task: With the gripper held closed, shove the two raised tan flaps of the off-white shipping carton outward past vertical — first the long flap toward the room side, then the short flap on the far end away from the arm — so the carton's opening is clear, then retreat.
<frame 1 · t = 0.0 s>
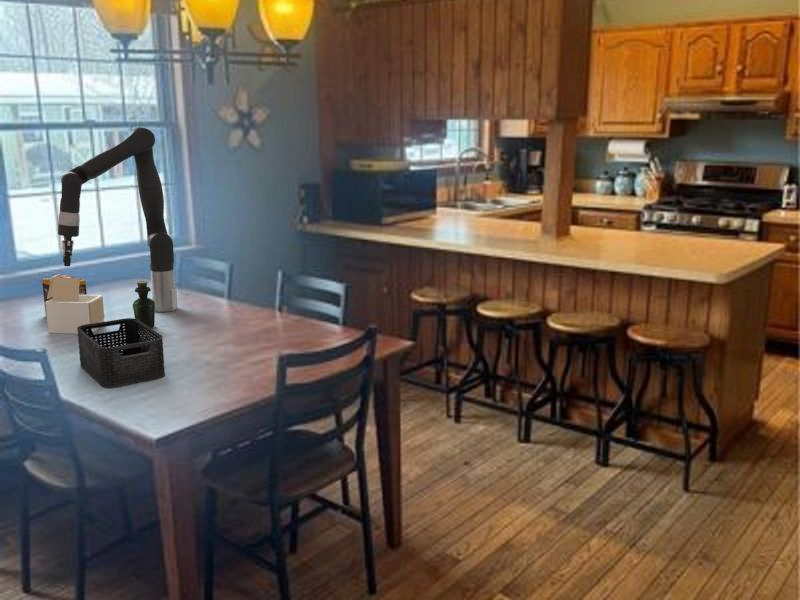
hand: (66, 264, 281), 22 cm above the table, tool pointing down, fingers open, 8 cm apart
carton: (77, 328, 273), on the table
storage bin: (122, 371, 229), on the table
short flap: (53, 286, 269), point 17 cm above the table, hinge at 72.0°
supplement box: (67, 317, 290), on the table
long flap: (66, 289, 264), point 17 cm above the table, hinge at 72.0°
potion bottle: (145, 327, 277), on the table
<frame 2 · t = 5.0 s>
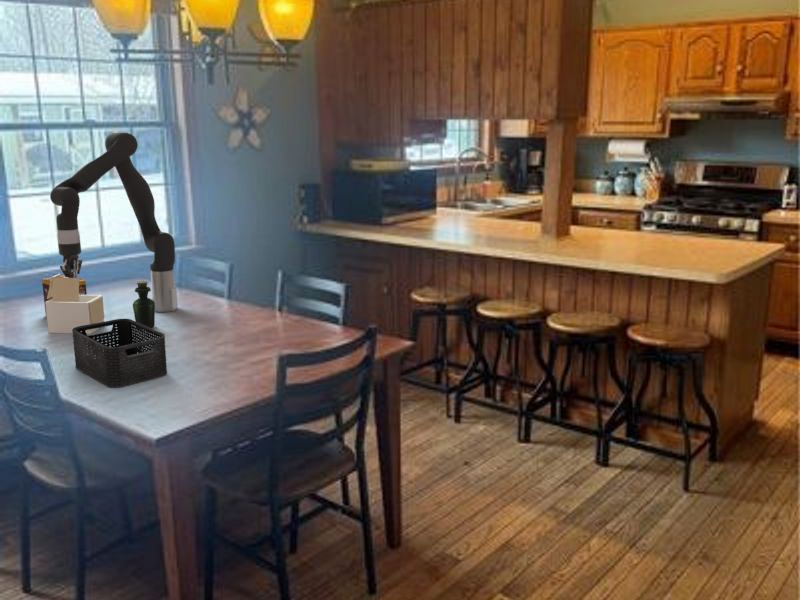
hand: (73, 287, 268), 17 cm above the table, tool pointing down, fingers closed
long flap: (65, 289, 264), point 17 cm above the table, hinge at 73.6°, touching gripper
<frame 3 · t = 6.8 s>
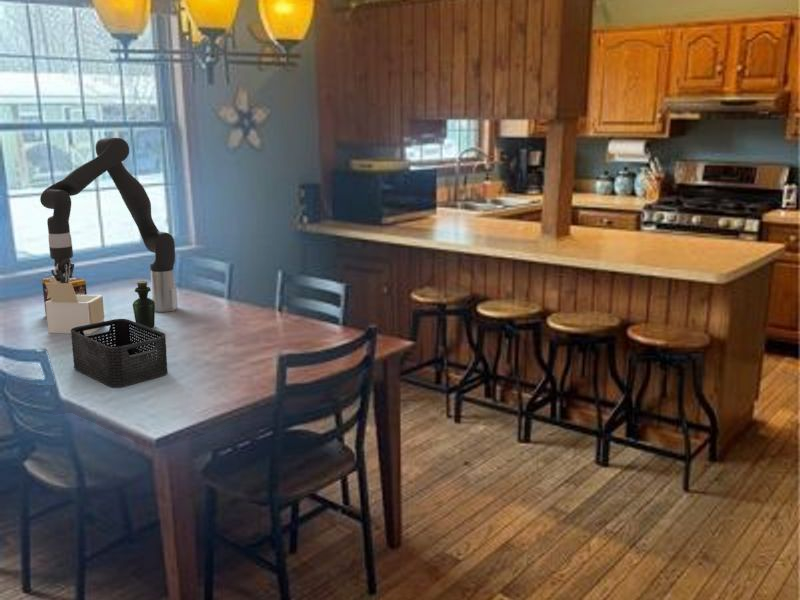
hand: (65, 291, 262), 17 cm above the table, tool pointing down, fingers closed
long flap: (61, 292, 261), point 16 cm above the table, hinge at 114.6°, touching gripper
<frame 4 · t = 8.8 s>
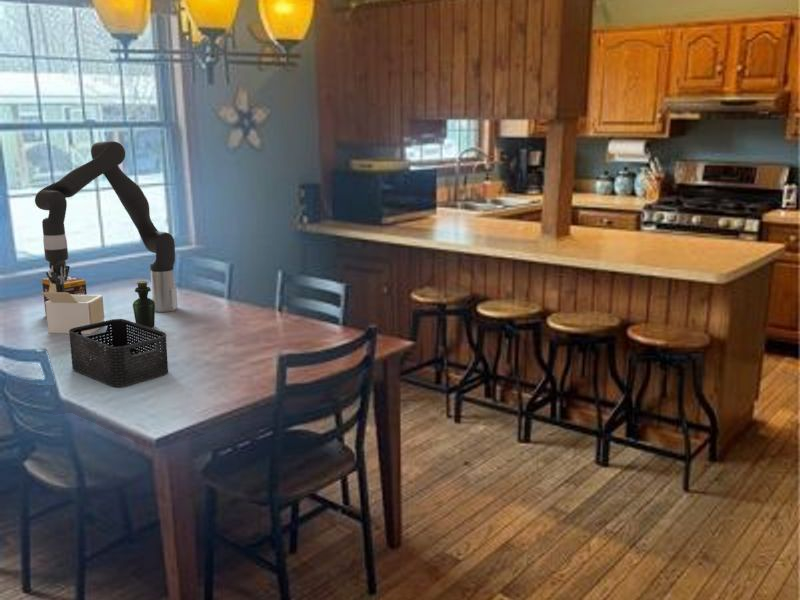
hand: (60, 294, 258), 16 cm above the table, tool pointing down, fingers closed
long flap: (60, 297, 260), point 15 cm above the table, hinge at 142.2°, touching gripper
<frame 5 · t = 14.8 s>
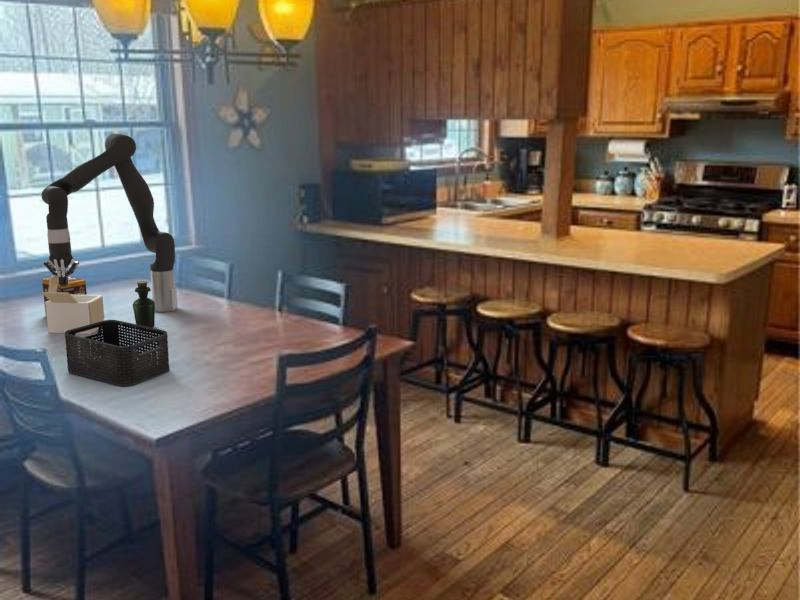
hand: (64, 286, 269), 17 cm above the table, tool pointing down, fingers closed
short flap: (53, 286, 269), point 17 cm above the table, hinge at 74.6°, touching gripper
long flap: (60, 297, 260), point 15 cm above the table, hinge at 142.3°
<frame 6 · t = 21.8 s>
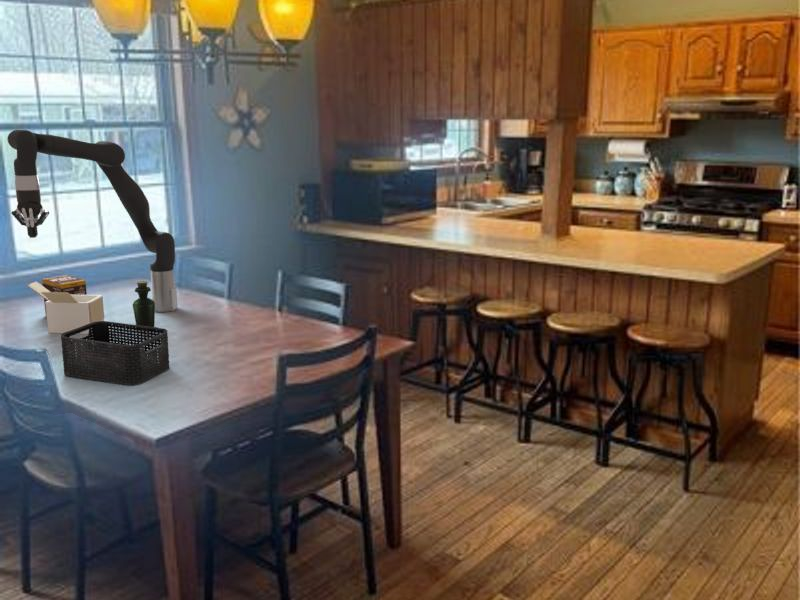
hand: (33, 237, 254), 37 cm above the table, tool pointing down, fingers closed
short flap: (41, 290, 270), point 15 cm above the table, hinge at 142.1°
at the end: long flap at +142° (first picture: +72°); short flap at +142° (first picture: +72°) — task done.
